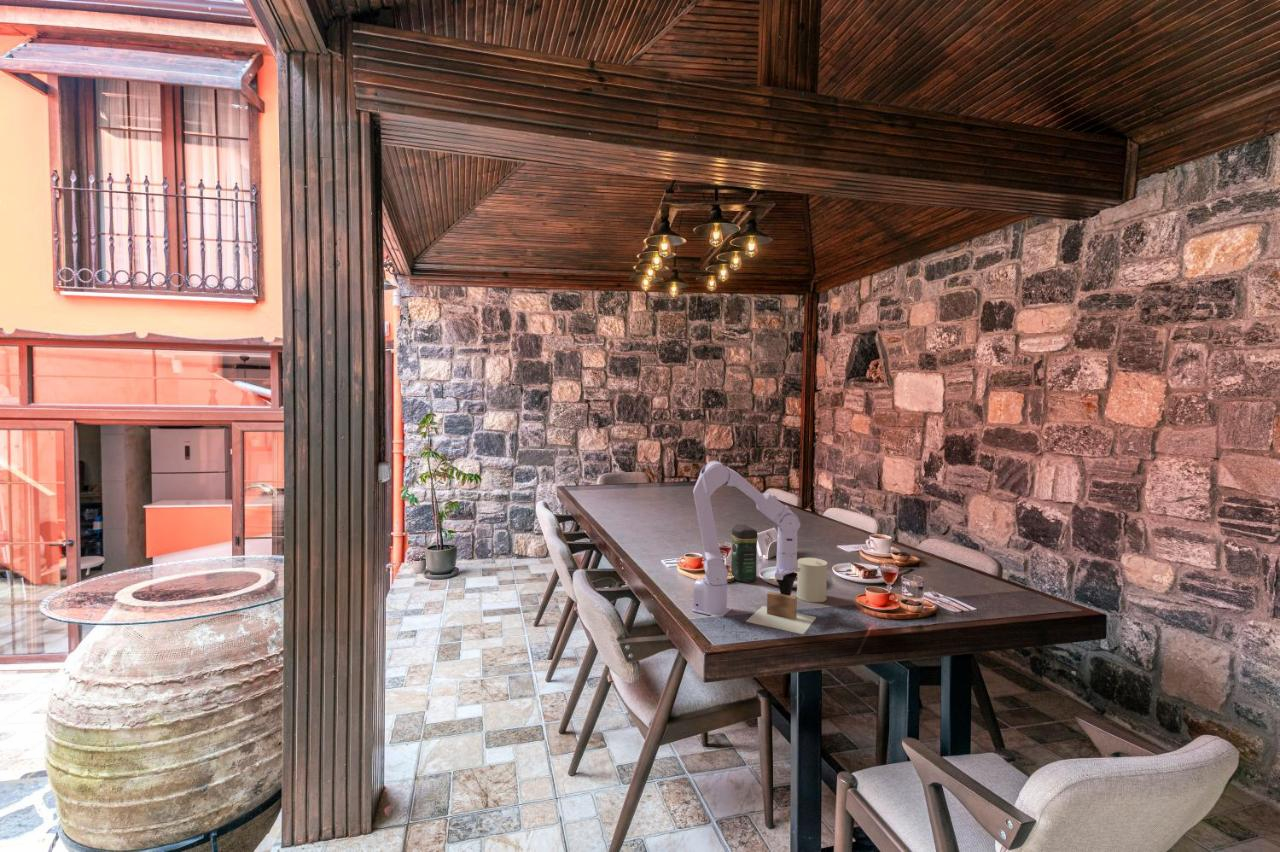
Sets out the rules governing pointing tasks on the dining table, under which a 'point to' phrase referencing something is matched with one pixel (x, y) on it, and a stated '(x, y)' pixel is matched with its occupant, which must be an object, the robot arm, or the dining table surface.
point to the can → (812, 580)
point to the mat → (782, 621)
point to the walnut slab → (782, 605)
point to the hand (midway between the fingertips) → (785, 597)
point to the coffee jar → (744, 553)
